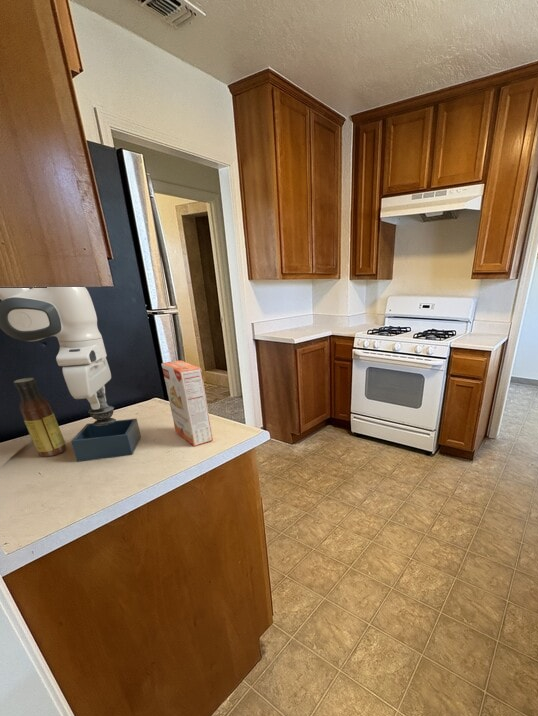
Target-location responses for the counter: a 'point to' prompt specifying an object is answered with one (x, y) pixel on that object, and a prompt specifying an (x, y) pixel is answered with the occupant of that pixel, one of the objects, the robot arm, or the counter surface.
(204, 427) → the cracker box
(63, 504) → the counter surface
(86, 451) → the bin
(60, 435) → the sauce bottle
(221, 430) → the counter surface
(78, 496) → the counter surface
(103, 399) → the grey chess piece
